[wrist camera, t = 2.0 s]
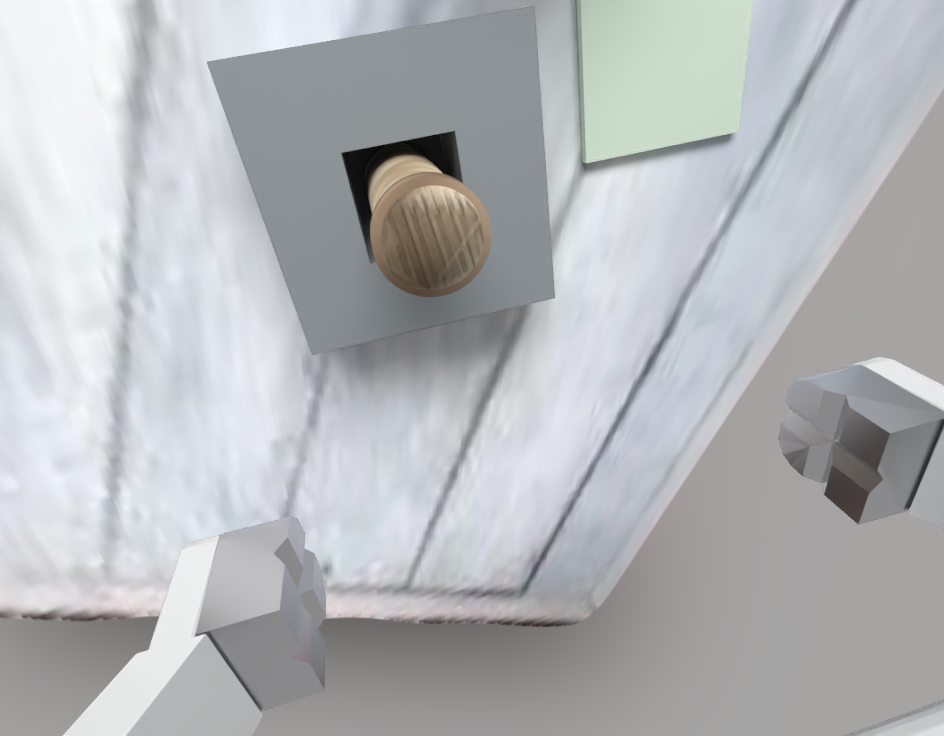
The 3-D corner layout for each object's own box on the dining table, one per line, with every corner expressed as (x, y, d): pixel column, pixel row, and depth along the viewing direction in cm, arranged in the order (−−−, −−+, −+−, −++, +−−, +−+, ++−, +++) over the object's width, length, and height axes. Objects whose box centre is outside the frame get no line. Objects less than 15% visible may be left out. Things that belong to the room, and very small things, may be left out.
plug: (431, 130, 29) (483, 164, 19) (446, 212, 31) (498, 283, 21) (349, 146, 29) (357, 190, 18) (370, 228, 31) (387, 308, 21)
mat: (754, -74, 28) (761, -77, 27) (732, 130, 33) (738, 131, 32) (574, -45, 26) (579, -48, 26) (582, 161, 32) (586, 163, 31)
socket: (503, 15, 27) (534, 5, 23) (528, 269, 34) (554, 297, 30) (228, 62, 26) (206, 62, 21) (315, 317, 33) (312, 355, 29)
